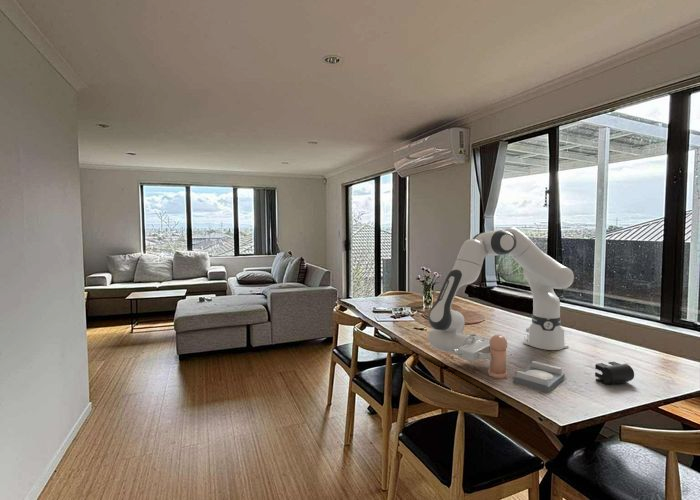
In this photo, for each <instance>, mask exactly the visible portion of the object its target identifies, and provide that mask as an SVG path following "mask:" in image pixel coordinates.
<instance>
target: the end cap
mask: <svg viewBox="0 0 700 500" xmlns="http://www.w3.org/2000/svg"><path fill="white" fill-rule="evenodd" d="M594 367H595V368H594V369H595V370H597V371H600V372H601V373H599V372H597V371H595V372H594V376H595V381H596V382H598V383H600V384H603V385H605V386H608V385H616V384H623V383H624V384H625V383H628V382H630V381H632V380H634V378H635V372H634V371H635V370H634V369H633V367H632V366H631V365H629V364H628V363H622V364H621V363H618V362H616V361H608V364H605V363H602V362H600V363H596V364H595V366H594Z"/></svg>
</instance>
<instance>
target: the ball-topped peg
mask: <svg viewBox="0 0 700 500" xmlns="http://www.w3.org/2000/svg"><path fill="white" fill-rule="evenodd" d="M489 339H490V341H489V344H490V347H491V348H490V353H489V354H492V355H493V358H492V359H491V360H489V363H490V364H489V368H488V370H487V375H488V376H489V377H491V378H494V379H500V380H502V379H507V378H508V377H509V372H508V370H507V348H508V344H509V343H508V340H507V339H506V337H505V336H503V335H501V334H495V335H493V336H491V337H490V338H489Z"/></svg>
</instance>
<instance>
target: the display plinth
mask: <svg viewBox="0 0 700 500" xmlns="http://www.w3.org/2000/svg"><path fill="white" fill-rule="evenodd" d="M565 377H566V376H565V373H563V372H562V367H560V366H555V365H551V364H547V363H544V362H540V361H535V360H532V361H531V364H530V365H529V366H527V367H526V368H524V369H523V370H517V371H516V374H515V375H513V377H512V378H513V379H512V380H513V381H512V382H513V383H515V384H519V385H521V386H525V387H528V388H532V389H535V390H539V391H541V392H544V393H545V392H546V393H550V392H551V391H552V390H554V389H555V388H556V387H557V386H558V385H559V384H561V383H562V382H563V381H564V380H565Z"/></svg>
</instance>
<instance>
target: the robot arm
mask: <svg viewBox="0 0 700 500" xmlns="http://www.w3.org/2000/svg"><path fill="white" fill-rule="evenodd" d="M507 254H508V255H509V256H510V257H511V258H512V259H513V260H514V261H515V262H516V263H517V264H518V265H519V266H520V267H521V268H523V278H525V280H526V281H527V283H528V285H529V287H530V288H529V289H530V291H531V294H532V301H533V302H532V307H533V309H532V315H531V324H530V325H529V326H528V327H526V328H525V333H527V334H525V337H524V339H523V344H524V345H528V346H531V347H534V348H537V349H542V350H548V351H559V350H562V349H568V348H569V344H567V343H566V342H565V329H564V328H563V327H562V326H561V325H562V323H561V322H562V317H561V301H560V298H559V297H558V295H556V292H555V291H554V289H557V290H563V289H567V288H569V287H571V285H572V284H573V283H574V279H575V276H574V275H575V274H574V272H573V270H572V269H571V268H569V267H568V266H565V265H563V264H561V263H560V262H558V260H556V259H554V258H553V257H551V256H550V255H548V254H547V253H545V252H544V251H542V250H541V248H539V247H538V246H537V245H536V244H535V243H534V242H533V241H532V240H531V239H530V238H529V236H527V234H525V233H524V232H523V231H521V230H519V229H518V228H516V227H512V226H509V227H506V228H504V229H503V230H502V229H501V230H490V231H486V232H480V233H478V234H475V236H473V237H472V238H470V239H469V238H468V239H467V240H465V241H463V244H462V245H461V247H460V250H459V251H458V254H457V256H456V260H455V262H454V265H453V268H451V269H452V270H451V271H450V272H449V273H448V275H447V276H446V278H445V280H444V282H443V284H442V287H441V289H440V291H439V294H438V296H437V299H436V300H435V302H434V303H433V305H432V307H431V308H430V309H429V311H428V315H427V319H428V324H429V325H430V326H431V327H432V329H430V331H429V332H428V343H429V344H430V346H431V347H432V348H433V349H436V350H438V351H441V352H444V353H451V354H453V355H455V356H457V357H458V358H460V359H462V360H464V361H468V362H475V361H477V360H488V361H490V360H491V359H492V358H493V355H492V354H490V348H491V347H490V344H489V341H490V339H491V338H489V337H484V336H479V334H475V333H472V334H467V333H466V334H465V333H464V334H463V331H464V328H465V324H466V319H465V317H464V315H463V313H462V312H460V311H457V310H454V309H452V305H453V302H454V300H455V298H456V295H457V293H458V291H459V289H460V288H462V287H463V286H465V285H471V284H473V283H474V282H476V281H477V280H478V278H479V276H480V274H481V270H482V268H483V264H484V260H485V258H486V257H487V256H488V257H495V256H504V255H507Z"/></svg>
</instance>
